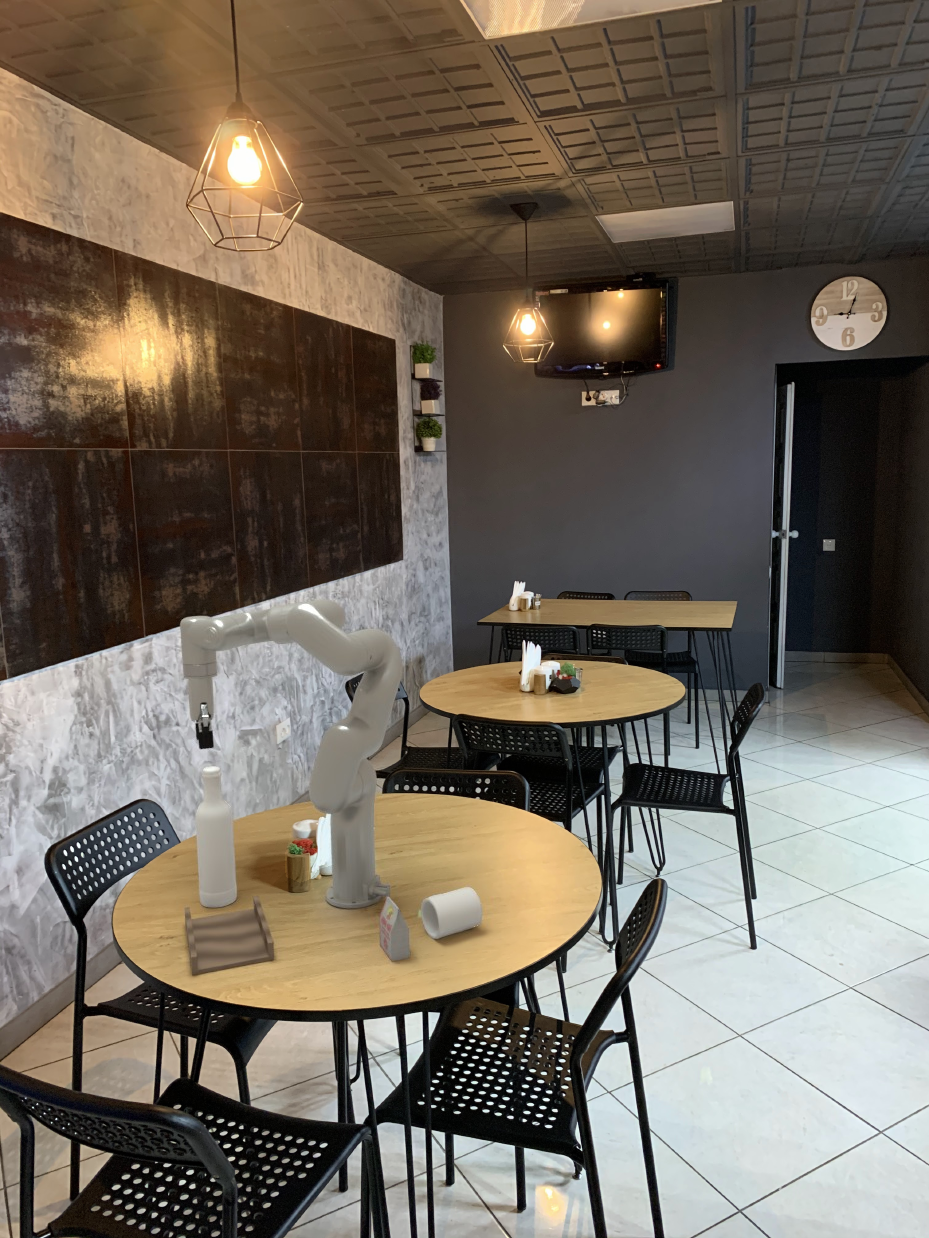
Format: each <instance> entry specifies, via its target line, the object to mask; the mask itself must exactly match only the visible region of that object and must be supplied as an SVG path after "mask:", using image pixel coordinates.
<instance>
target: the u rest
mask: <svg viewBox="0 0 929 1238" xmlns="http://www.w3.org/2000/svg"><path fill="white" fill-rule="evenodd" d="M252 899H253V900H252V901H253V908H249V909H244V910H242V909H241V910H237V911H233V912H232V911H231V912H225V913H220V914H215V915H214V914H212V915H208V916H202V917H196V918H192V915H191V908H190V907H184V922H185V930H186V937H187V945H188V953H189V960H190V967H191V975H192V976H195V975H200V974H206V973H212V972H217V971H221V970H227V969H231V968H238V967H243V966H248V965H254V964H258V963H264V962H267V961H275V947H274V946H275V945H274V944H275V942H274V940H273V937H272V934H271V930H270V927H269V925H268V922H267V919H266V916H265V912H264V909H263V906H262V904H261V901H260V898H259V895H254V896H252Z"/></svg>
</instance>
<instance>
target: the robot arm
mask: <svg viewBox="0 0 929 1238" xmlns="http://www.w3.org/2000/svg"><path fill="white" fill-rule="evenodd" d="M345 617H346V616H345V611H344V610H343V608H342V606H341V605H340V604H338V602H336V601H334V600H332V599H326V598H323V599H320V598H319V599H314V600H307V601H299V602H295V603H288V604H281V605H274V606H271V607H270V608H266V609H259V610H253V611H252V610H251V611H247V612H245V611H244V612H239V613H234V614H229V615H224V616H220V617H219V616H217V617H214V618H212V617H211V616H208V615H196V616H195V615H194V616H187V617H184V618H183V619H181V621H180V623H179V630H180V645H181V659H182V661H181V663H182V676H183V679H185V680H187V683H188V684H187V688H188V690H187V691H188V704H189V706H188V707H189V718H190V720H191V722H193V723H195V724H194V725H195V737H196V741H198V749H199V750H209V749H213V748H215V746H214V732H213V731H214V730H213V729H212V728H213V727H212V720H214V713H215V711H214V709H215V708H214V707H215V704H214V682H213V678H214V677H217V676H218V664H217V663H218V661H217V652H223V651H227V650H231V649H235V648H239V647H243V646H248V645H253V644H259V643H269V642H273V643H275V644H277V645H286V644H294V643H295V644H298V646H299V647H301V649H303V650H304V651H305V652H307V653H308V654H310V655H311V656H312V657H313V658H314V659H315V660H317V661H318V662H320V664H322V665H324V666H325V667H326V668H327V669H329V670H330V671H331V672H333V673H335V674H337V675H340V676H343V677H352V676H355V675H359V674H361V673H363V675H362V677H361V680H360V681H359V682H358V683H359V684H358V685H357V687H356V689H355V693H354V694H353V700H352V703H351V707H350V709H349V712H348V714H347V716H346V717H344V718H343V719H341V720H339V721H337V722H335V723H334V724H332V725H330V727H329V728H327V730H326V731H325V733H324V734H323V737H322V738H321V740H320V744H319V745H318V746H319V747H318V750H317V753H316V757H315V761H314V764H313V768H312V772H311V775H310V780H309V783H308V794H309V800H310V801H311V803H312V805H313V807H314V808H315V809H316V810H317V811H319V812H321V813H323V814H326V815H330V824H329V825H330V848H331V849H330V853H331V877H332V881H331V882H332V885H331V886H330V887H329V888H328V889H327V890H326V892H325V899H326V902H327V903H328V904H330V905H331V906H333V907H337V908H341V909H360V908H365V907H369V906H372V905H373V904H377V903H378V902H379V901H380V900H382V898H386V896H387V897H388V896H389V897H390V895H391V884H389V883H382V881H381V875H379V874H376V851H375V850H376V846H375V800H376V794H377V780H378V779H377V772H376V769H375V767H374V765H373V763H372V762H371V761H370V760H369V759H368V758H369V757H371V756H372V755H375V754H376V752H378V751H379V750H380V748H381V746H382V745H383V742H384V739H385V735H386V732H387V728H388V725H389V723H390V718H391V715H392V710H393V707H394V703H395V700H396V696H397V694H398V690H399V687H400V683H401V679H402V674H403V659H402V655H401V651H400V648H399V647H398V645H397V643H396V641H395V640H394V639H393V638H392V637H391V636H390V635H389V634H388V633H386V632H385V631H384V630H381V629H377V628H366V629H359V630H356V631H354V632H350V633H346V632H345V631H343V630H342V629H343V626H344V624H345V619H346V618H345Z"/></svg>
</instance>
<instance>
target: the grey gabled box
mask: <svg viewBox="0 0 929 1238" xmlns="http://www.w3.org/2000/svg"><path fill="white" fill-rule="evenodd" d="M378 918H379V919H378V924H379V927H378V928H379V947H380V948H381V949H382V951H383V952H384V954H385V955H386V956H387V958H388V960H389V961H390V962H397V961H400V960H405V959H409V958H411V956H410V955H411V952H410V948H411V947H410V946H411V945H410V927H409V926H408V924H407V922H406V921H405V919H404V917H403V915H402V912H401V909H400V907H399V906H398V905H397V904H396V903H395V901H393V900H392V899H391V897H390V895H389V896H388V897H387V896H386V897H385V901H384V904H383V907H382V909H381V912H380V914H379V917H378Z"/></svg>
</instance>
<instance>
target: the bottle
mask: <svg viewBox="0 0 929 1238" xmlns="http://www.w3.org/2000/svg"><path fill="white" fill-rule="evenodd" d="M221 779H222V773H221V768H220V766H216V765H215V766H214V765H213V766H206V767H204V768H203V769H202V780H203V797H204V800H203V801H202V802H201V803H200V804H199V805H198V807H197V810H196V814H195V816H194V817H195V818H194V819H195V829H196V830H195V833H196V849H197V851H196V852H197V868H198V885H199V887H198V893H199V894H198V895H199V902H200V904H201V905H202V906H203V907H206V908H210V909H211V908H212V909H215V908H216V909H217V908H223V907H226V906H229V905H232V904H233V903H234V902H235V901H236V900H237V897H238V895H237V894H238V893H237V892H238V887H237V877H236V874H237V873H236V859H235V858H236V857H235V856H236V855H235V838H234V835H235V834H234V820H233V819H234V817H233V811H232V808H231V806H230V804H229V802H227V801H226V800H225V799H223V798H222V796H223V795H222V781H221Z"/></svg>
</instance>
